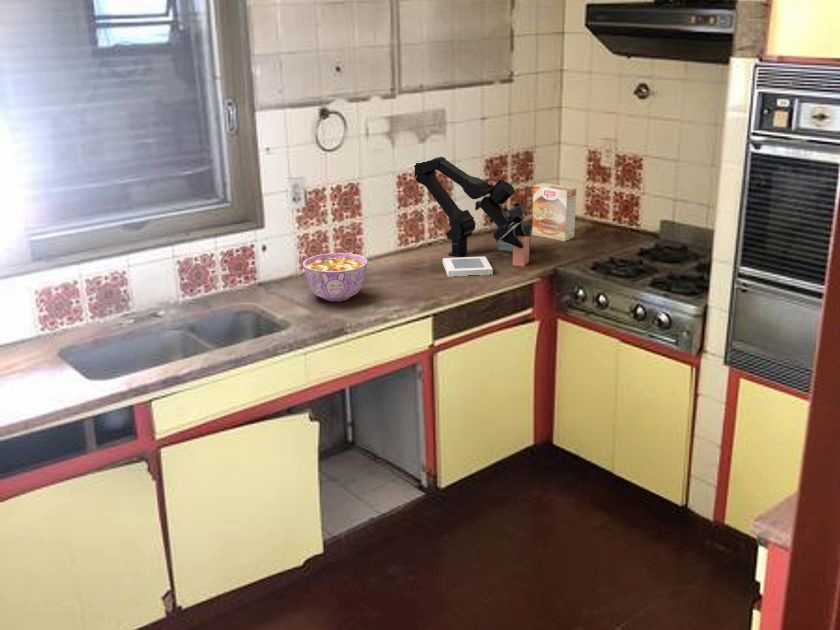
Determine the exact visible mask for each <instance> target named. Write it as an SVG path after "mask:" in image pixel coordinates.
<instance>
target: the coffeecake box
mask: <svg viewBox="0 0 840 630" xmlns="http://www.w3.org/2000/svg"><path fill="white" fill-rule="evenodd" d="M532 198H533V202H532V226H531V227H532V228H531V230H532V231H531V232H532V233H531V235H532V236H537V237H542V238H545V237H546V238H547V239H552V240H557V241H561V242H566V240H567V241H569V240H571V238H572V239H573V237H574V238H575V231H576V230H575V228H576V227H575V226H576V205H577V187H573V186H566V185H562V184H561V185H560V184H555V183H554V184H553V183H547V182H541V183H537V184H534V185H533V196H532Z"/></svg>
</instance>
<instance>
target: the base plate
mask: <svg viewBox="0 0 840 630" xmlns="http://www.w3.org/2000/svg"><path fill="white" fill-rule="evenodd" d="M442 265H443V268H444V270H445V272H446V274H447V277H449V278H452V277H454V276H457V277H469V276H468V275H480V276H493V275H494V274H493V273H494V269H493V267H492V266H491V263H490V262H489V260H488V259H487V257H486V256H465V257H461V256H460V257H445V258H442ZM490 274H491V275H490Z"/></svg>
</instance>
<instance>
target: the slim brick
mask: <svg viewBox="0 0 840 630" xmlns="http://www.w3.org/2000/svg"><path fill="white" fill-rule="evenodd" d="M518 239H519V240H520V242H521V243H522V245H523V248H522V249H521V248H518V247H516V246H514V245H513V253H512V266H517V267H525V266H526V265H527V264H528V263H529V262H530V251H529V240H530V241H531V236H530V237H526V236H518Z"/></svg>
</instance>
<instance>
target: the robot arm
mask: <svg viewBox="0 0 840 630" xmlns="http://www.w3.org/2000/svg"><path fill="white" fill-rule="evenodd" d="M414 167H415V176H416V175H417V178H416V180H415V181H416V182H417V183H418V184H420V185H422V186H424V187H425V188H426V189H427V190H428V192H429V193H430V194H431V195H432V198H434V200H435V201H436V202H437V204H438V205H439V207H440V208H441V209H442V210H443V211H444V213H445V215H446V216H447V217H448V224H449V227H450V229H448V231H447V232H445V235H446V238H447V240H451V241H450V243H451V250H450V252H448V253H447V255H448V256H453V257H460V258H461V257H467V256H468V255H469V254H470V253H471V250H468V237H471V236H472V235H473V232H474V231H475V229H476V221H475V220H474V219H475V217H474V216H473V215H472V214H471V213H470V211H469V210H468V209H465V210H462V209H461V208H459V206H458V205H457V204H456V202H455V201H454V199H452V197H451V196H450V194H449V193H448V192H447V190H446V189H445V187H444V186H443V184H441V182H440V181H439V179H438V178H437V174H436V173H437V172H436V171H438V172H439V173H441V174H442V175H444V176H445V177H447V178H448V179H450V180H451V181H453V182H454V183H456V185H458V186H460V187H461V188H462V190H463V193H465V194H466V196H468V197H469V198H470V199H471V200H477V201H476V202H475V203H474V204H475V208H474V210H475V211H478V210H479V209H482V211H483V212H484V213H485V214H486V216H487V217H488V218H489V222H490V223H494V225H495V226H497V230H495V232H493V233H492V235H493V236H492V238H493V239H494V240H495V241H496V242H498V240H499V239H500V238H501V237H503V238H502V239H501V241H504V242H507V243H509V244H512V245H514V246H516V247H518V248H521V249H522V248H523V245H522V243H521V242H520V240H519V239H518V236H526V235H525V232H524V230H523V223H524V219H525V217H524V216H523V215H525V214H526V210H525V208H526V206H525V205H524V204H523V203H521V202H520V201H519V202H516V203H514V204H513V207H511V208H508V207H506V206H504V207H503V206H502V205H504V204H505V203H506V202H507V201H508V200H510V198H511V197H512V196H513V195H515V187H514V186H513V185H512V184H510V183H509V181H506V180H504V179H503V178H500V179H499V180H497V182H496V183H495V184H494V185H492V184H489V182H487V180H485V179H482V178H479V177H476V176H472V175H470V174H468V173H466V172H465V171H463V170H462V169H460V168H459V167H458V166H456V165H454V164H453V163H451V162H450V161H448V160H447V159H446V157H443V156H439V157H438V156H437V157H435V158H432V159H431V160H428V161H427V162H422V163H416V165H415V166H414ZM488 195H489V196H488ZM480 198H481V199H480ZM478 199H480V200H478ZM520 222H521V223H520Z"/></svg>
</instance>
